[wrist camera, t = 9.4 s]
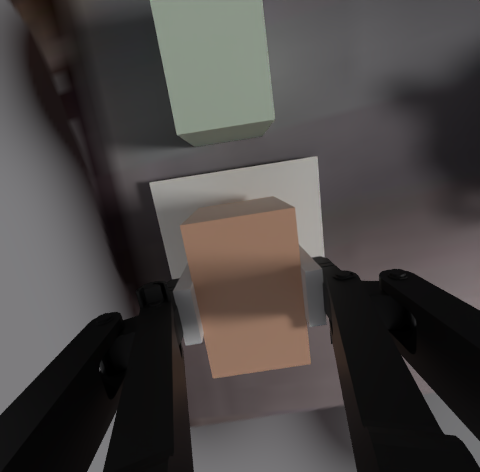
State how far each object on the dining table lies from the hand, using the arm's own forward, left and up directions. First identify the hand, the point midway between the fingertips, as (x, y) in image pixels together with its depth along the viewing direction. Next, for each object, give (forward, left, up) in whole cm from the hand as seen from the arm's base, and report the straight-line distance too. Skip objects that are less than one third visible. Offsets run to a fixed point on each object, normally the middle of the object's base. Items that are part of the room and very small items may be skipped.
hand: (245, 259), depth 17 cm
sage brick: (-12, 0, -3) cm, 13 cm away
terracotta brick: (0, 0, 0) cm, 0 cm away
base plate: (0, 0, -3) cm, 3 cm away
